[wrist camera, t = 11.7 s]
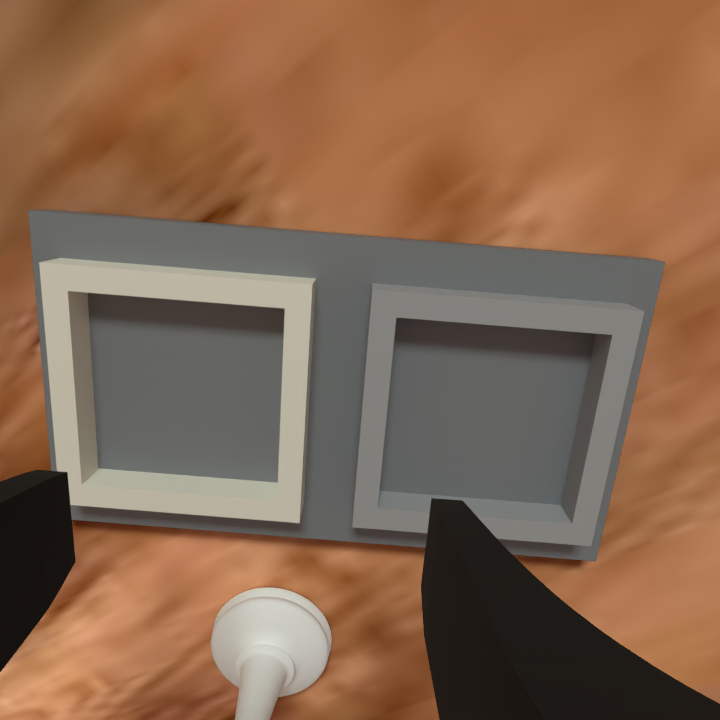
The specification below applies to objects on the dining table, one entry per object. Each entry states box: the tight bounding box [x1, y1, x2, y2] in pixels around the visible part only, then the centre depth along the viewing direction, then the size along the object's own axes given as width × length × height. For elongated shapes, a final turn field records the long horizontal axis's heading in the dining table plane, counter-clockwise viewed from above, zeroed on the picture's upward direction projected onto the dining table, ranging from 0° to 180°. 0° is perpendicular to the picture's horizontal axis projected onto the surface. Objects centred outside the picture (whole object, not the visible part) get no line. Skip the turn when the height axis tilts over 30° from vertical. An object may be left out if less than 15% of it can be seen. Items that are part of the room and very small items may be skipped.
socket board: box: [28, 210, 665, 561], centre depth 19 cm, size 11×20×2 cm, turn 86°
